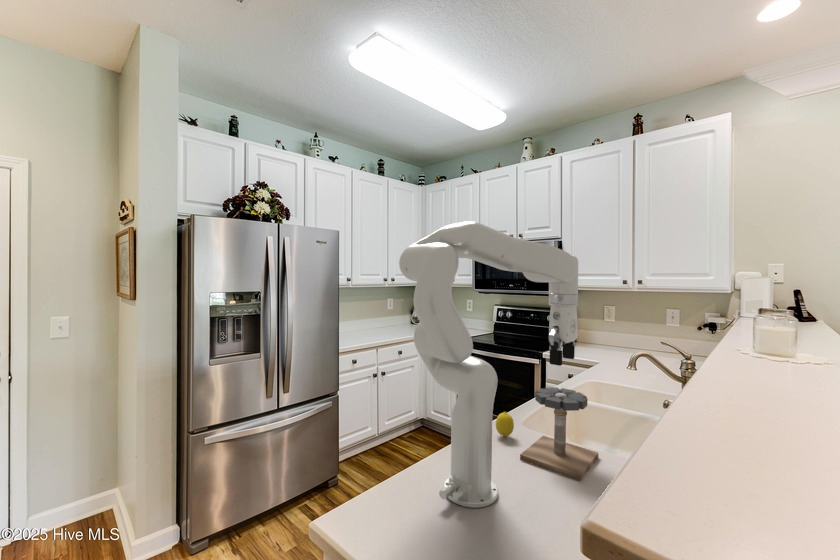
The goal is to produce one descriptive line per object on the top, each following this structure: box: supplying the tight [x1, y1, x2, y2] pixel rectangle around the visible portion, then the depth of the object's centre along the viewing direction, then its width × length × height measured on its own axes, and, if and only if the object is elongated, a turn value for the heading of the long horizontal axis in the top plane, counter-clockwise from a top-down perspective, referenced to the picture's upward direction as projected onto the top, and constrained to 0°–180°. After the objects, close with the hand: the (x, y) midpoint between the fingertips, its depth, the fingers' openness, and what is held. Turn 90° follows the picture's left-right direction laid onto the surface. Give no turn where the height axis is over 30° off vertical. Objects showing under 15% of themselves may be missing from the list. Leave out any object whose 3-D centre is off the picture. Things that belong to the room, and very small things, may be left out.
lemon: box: [495, 411, 515, 438], centre depth 116 cm, size 6×6×8 cm
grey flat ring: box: [534, 387, 589, 412], centre depth 102 cm, size 13×13×2 cm
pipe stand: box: [519, 393, 599, 482], centre depth 103 cm, size 16×16×18 cm
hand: (562, 361), depth 102 cm, fingers open, 9 cm apart
